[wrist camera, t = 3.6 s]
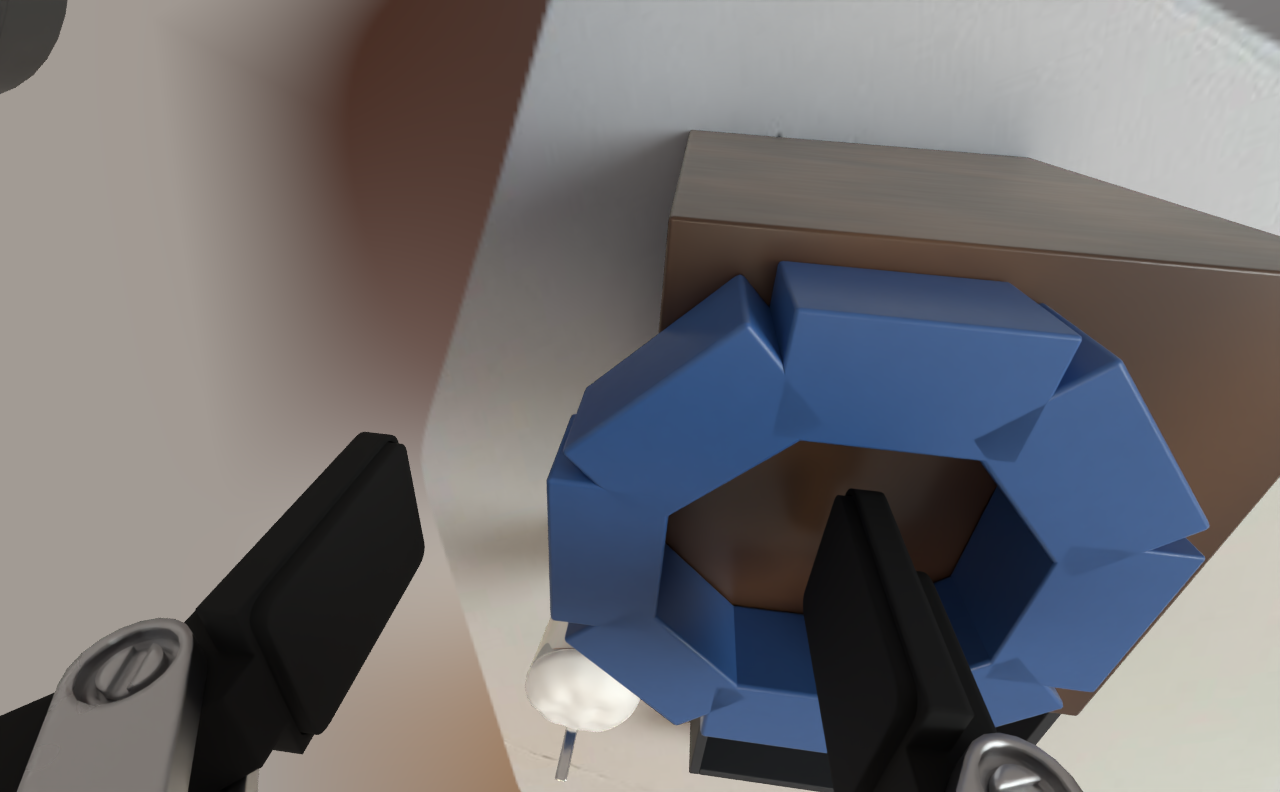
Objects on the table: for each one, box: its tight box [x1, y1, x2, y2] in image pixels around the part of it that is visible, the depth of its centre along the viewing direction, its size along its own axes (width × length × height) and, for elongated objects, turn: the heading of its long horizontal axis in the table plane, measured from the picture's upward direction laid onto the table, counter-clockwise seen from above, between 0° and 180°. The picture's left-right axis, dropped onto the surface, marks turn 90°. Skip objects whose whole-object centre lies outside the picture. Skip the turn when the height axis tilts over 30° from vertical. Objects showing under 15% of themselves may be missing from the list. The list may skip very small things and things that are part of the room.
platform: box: [658, 130, 1280, 716], centre depth 16 cm, size 11×11×12 cm
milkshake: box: [525, 617, 640, 782], centre depth 25 cm, size 5×5×10 cm
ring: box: [547, 261, 1210, 753], centre depth 10 cm, size 10×10×2 cm
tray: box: [689, 712, 1061, 792], centre depth 31 cm, size 17×17×3 cm
